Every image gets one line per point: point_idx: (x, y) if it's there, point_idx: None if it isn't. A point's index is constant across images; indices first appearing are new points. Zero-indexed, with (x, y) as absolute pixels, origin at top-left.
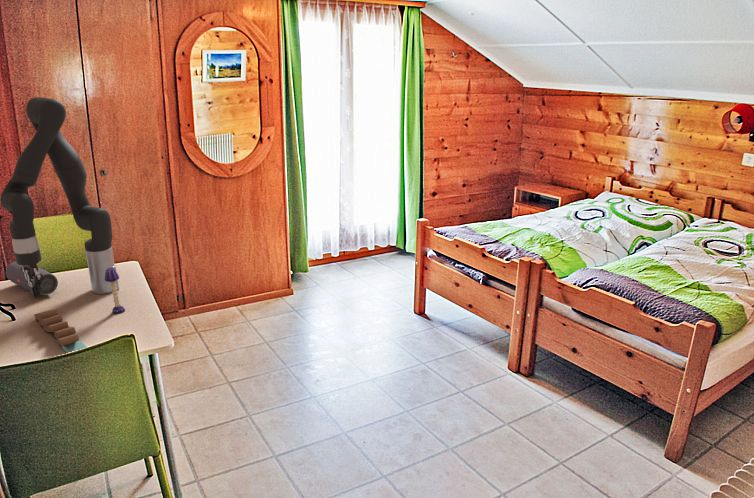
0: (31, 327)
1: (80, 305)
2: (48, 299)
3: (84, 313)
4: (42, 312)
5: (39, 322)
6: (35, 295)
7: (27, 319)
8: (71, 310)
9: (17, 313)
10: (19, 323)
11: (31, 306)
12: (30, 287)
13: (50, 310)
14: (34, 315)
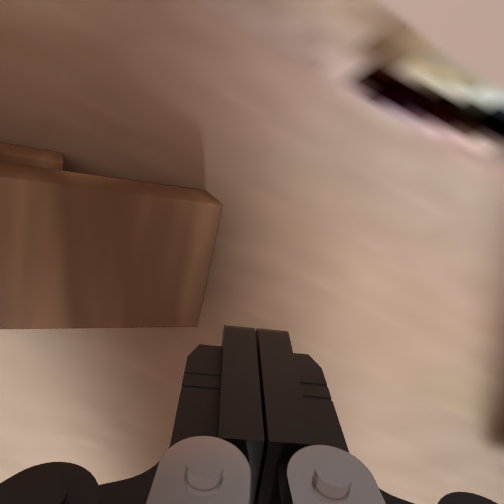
0: (88, 89)
1: None
2: (474, 423)
3: (24, 443)
4: (143, 256)
5: (45, 155)
6: (198, 346)
7: (280, 156)
8: (150, 421)
9: (471, 170)
10: (262, 69)
11: (483, 301)
12: (304, 424)
13: (53, 305)
14: (217, 202)
